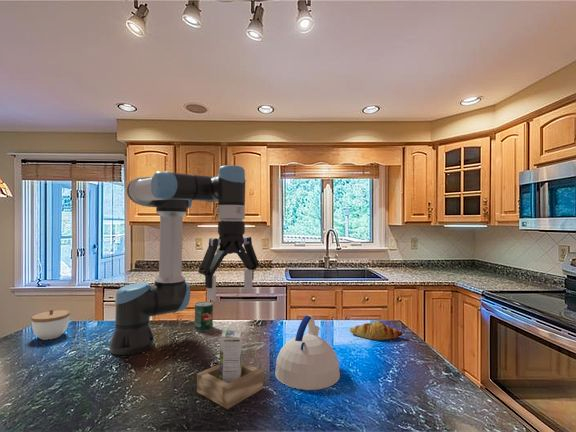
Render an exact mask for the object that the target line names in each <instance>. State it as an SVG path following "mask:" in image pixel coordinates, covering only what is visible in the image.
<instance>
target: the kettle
mask: <svg viewBox="0 0 576 432" xmlns="http://www.w3.org/2000/svg"><path fill="white" fill-rule="evenodd" d="M306 328H307V329H306ZM306 330H307V333H305V332H306ZM319 331H320V327H319V326H318V325H316V322H315V318H314V316H313V315H310V314H309V315H305V316H304V317H303V318H302V319H301V322H300V324H299V326H298V328H297V332H296V335H295V336H294V337H292V338H291V339H289V340H288V341H287V342H285V344H284V345H283V346H282V347H281V349H280V350H279V352H278V355H277V356H276V357H277V358H276V362H275V375H274V376H275V377H276V378H277V380H278V381H279V382H280V383H281V384H282V385H284V384H285V386H287V387H288V388H292V389H295V388H296V390H301V389H302V390H303V391H319V390H323V389H327V388H330V387H331V386H333V385H335V384H336V383H337V382H339V380H340V377H341V376H340V375H341V373H340V364H339V363H340V362H339V359H338V356H337V354H336V352H335V350H334V349H333V347H332V346H331V344H329V343H328V342H327V341H326V340H325V339H323V338H322V337H320V336H319V333H320V332H319Z"/></svg>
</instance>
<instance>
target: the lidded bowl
mask: <svg viewBox="0 0 576 432" xmlns="http://www.w3.org/2000/svg"><path fill="white" fill-rule="evenodd" d="M70 315H71V313H70V310H66V309H65V310H64V309H62V310H61V309H60V310H57V309H56V310H54V309H49V311H44V312H40V313H36V314H35V315H32V316H31V328H32V332H33V334H34V335H35V336H36V337H38V338H39V339H40V340H41V339H42V341H43V340H44V341H45V340H46V341H47V340H48V339H49V340H53V339H57V338H60V337H61V336H62V335H63V333H64V332H66V330H67V329H68V326H69V323H70Z"/></svg>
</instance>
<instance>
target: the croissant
mask: <svg viewBox="0 0 576 432" xmlns="http://www.w3.org/2000/svg"><path fill="white" fill-rule="evenodd" d="M349 332H351V334H353V335H355V336H358V337H360V338H363V339H368V340H373V341H374V340H375V341H383V340H395V339H398V338H400V337H402V336H403V331H402V330H398V329H397V328H395V327H391V326H390V325H387V324H386V323H385V324H384V323H383V321H381V320H375V321H372V322H367V323H366V322H365V323H363V324H361V325H360V324H359V325H355V326H354V327H350V328H349Z"/></svg>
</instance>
